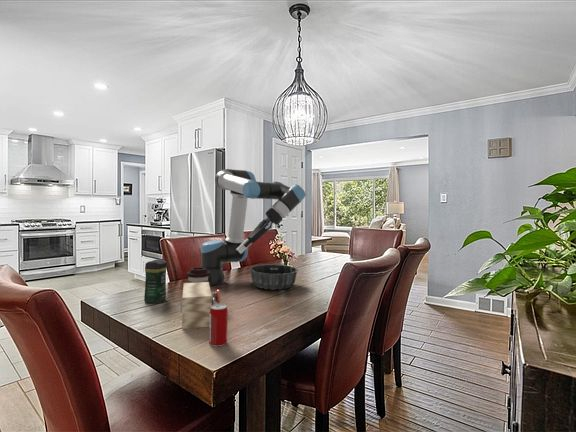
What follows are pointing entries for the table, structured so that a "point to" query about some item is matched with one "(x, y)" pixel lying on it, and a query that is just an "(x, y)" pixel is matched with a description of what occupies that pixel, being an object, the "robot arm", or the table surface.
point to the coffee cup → (198, 275)
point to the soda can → (218, 325)
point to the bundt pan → (273, 276)
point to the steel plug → (212, 303)
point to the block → (196, 305)
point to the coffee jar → (155, 281)
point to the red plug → (216, 296)
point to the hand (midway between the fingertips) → (238, 251)
